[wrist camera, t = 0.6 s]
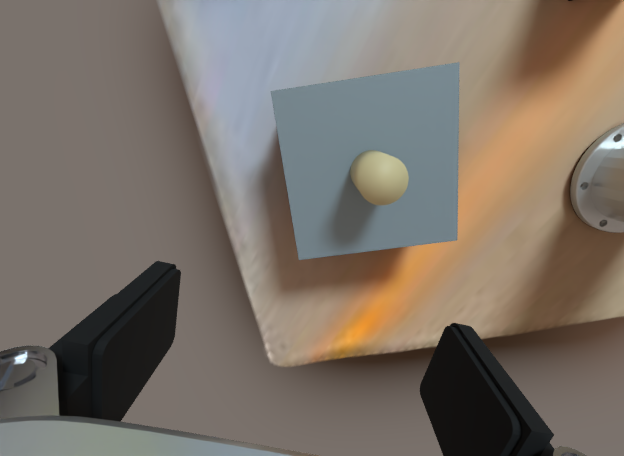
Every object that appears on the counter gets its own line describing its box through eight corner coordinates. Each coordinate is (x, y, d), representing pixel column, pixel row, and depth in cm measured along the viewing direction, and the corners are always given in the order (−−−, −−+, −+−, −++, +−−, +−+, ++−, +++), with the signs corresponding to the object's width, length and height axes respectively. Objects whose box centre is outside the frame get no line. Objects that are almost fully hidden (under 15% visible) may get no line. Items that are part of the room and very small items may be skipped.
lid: (452, 65, 25) (495, 46, 19) (451, 235, 30) (485, 262, 24) (272, 92, 26) (260, 83, 20) (299, 255, 30) (295, 285, 25)
